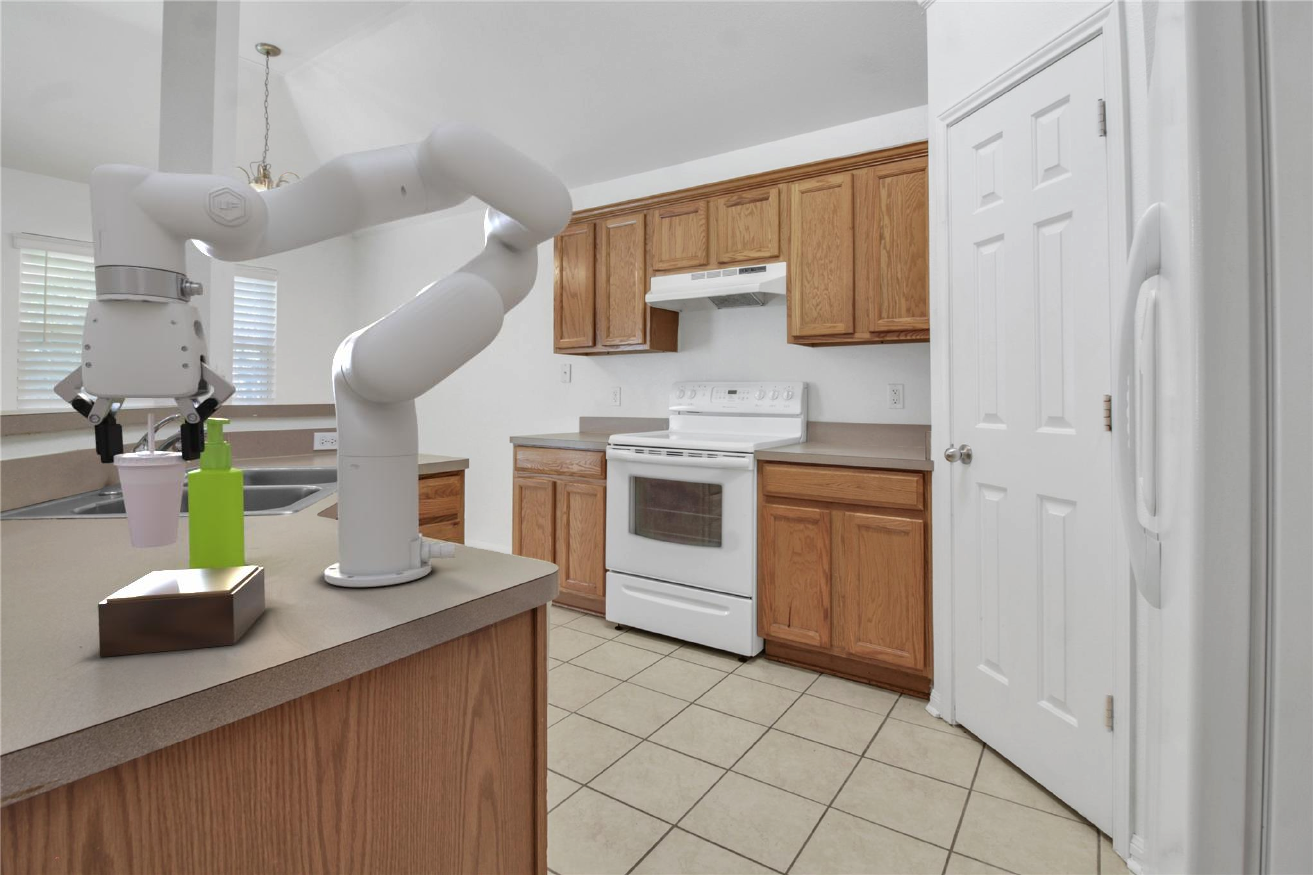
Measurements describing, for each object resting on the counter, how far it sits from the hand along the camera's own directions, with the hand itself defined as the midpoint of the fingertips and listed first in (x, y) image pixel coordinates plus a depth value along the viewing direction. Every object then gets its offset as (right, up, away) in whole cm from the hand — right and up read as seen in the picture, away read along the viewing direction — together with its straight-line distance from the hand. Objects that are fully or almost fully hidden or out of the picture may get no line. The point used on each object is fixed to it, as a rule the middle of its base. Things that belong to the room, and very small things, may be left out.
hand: (152, 459), depth 67 cm
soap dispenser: (-4, -15, +15) cm, 22 cm away
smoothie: (0, -9, 0) cm, 9 cm away
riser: (+9, -16, -7) cm, 20 cm away
